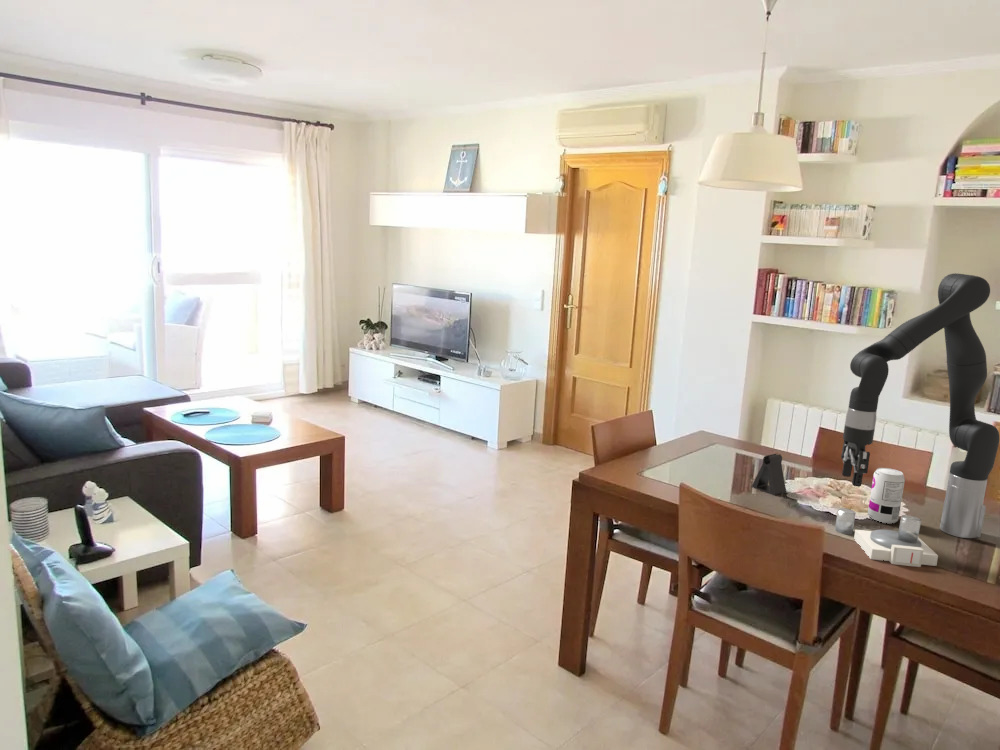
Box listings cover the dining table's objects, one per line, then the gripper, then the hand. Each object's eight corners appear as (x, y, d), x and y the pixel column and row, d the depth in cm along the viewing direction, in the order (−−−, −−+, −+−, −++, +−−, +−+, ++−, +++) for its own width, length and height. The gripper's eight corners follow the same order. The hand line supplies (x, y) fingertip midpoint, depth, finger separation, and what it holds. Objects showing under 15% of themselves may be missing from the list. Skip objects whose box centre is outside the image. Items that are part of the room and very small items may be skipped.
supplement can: (863, 518, 217) (870, 470, 214) (872, 512, 223) (880, 465, 220) (892, 526, 212) (900, 477, 209) (901, 520, 217) (909, 472, 215)
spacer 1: (849, 528, 209) (852, 509, 207) (854, 535, 204) (858, 515, 203) (832, 527, 209) (835, 507, 208) (837, 533, 205) (840, 513, 204)
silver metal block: (912, 537, 195) (916, 516, 194) (920, 544, 190) (924, 522, 189) (894, 535, 195) (898, 514, 194) (901, 542, 191) (905, 520, 190)
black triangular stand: (751, 487, 241) (755, 452, 238) (762, 484, 244) (767, 450, 242) (774, 495, 233) (779, 459, 231) (786, 492, 237) (790, 457, 234)
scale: (915, 545, 199) (917, 529, 198) (940, 569, 184) (943, 552, 184) (853, 539, 201) (856, 523, 200) (873, 562, 186) (876, 545, 186)
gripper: (884, 433, 193) (874, 490, 196) (865, 420, 207) (856, 474, 210) (854, 430, 194) (845, 488, 197) (837, 417, 208) (829, 471, 211)
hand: (851, 480), depth 204 cm, fingers open, 8 cm apart
